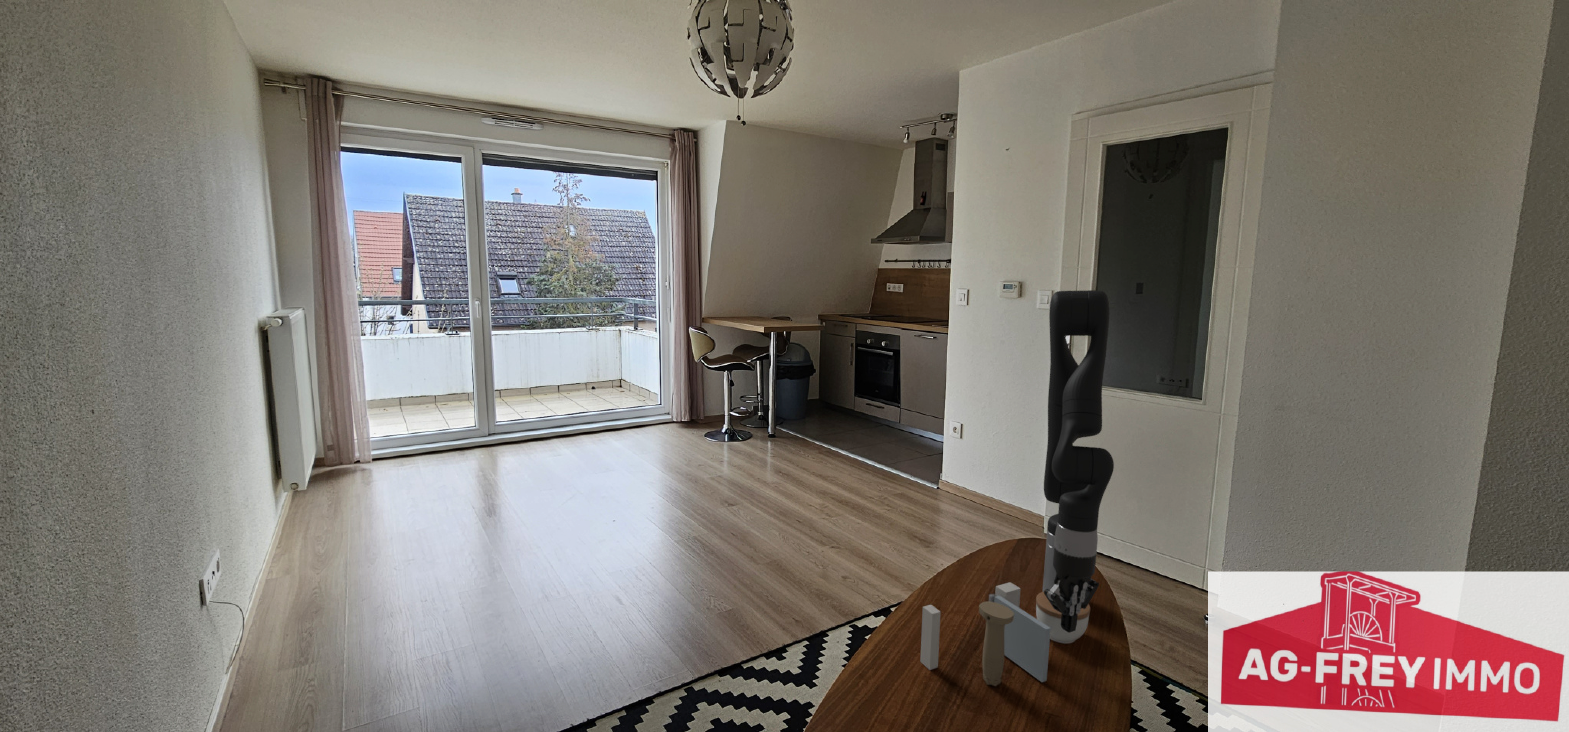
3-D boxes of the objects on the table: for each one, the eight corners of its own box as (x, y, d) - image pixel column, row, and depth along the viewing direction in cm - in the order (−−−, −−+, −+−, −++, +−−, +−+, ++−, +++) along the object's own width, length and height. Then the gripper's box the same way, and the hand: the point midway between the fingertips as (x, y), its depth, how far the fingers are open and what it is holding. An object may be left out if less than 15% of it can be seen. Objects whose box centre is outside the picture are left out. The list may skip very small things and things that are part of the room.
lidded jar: (1082, 655, 138) (1086, 613, 137) (1028, 639, 144) (1031, 598, 142) (1091, 631, 147) (1094, 591, 146) (1039, 616, 153) (1042, 578, 151)
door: (984, 641, 142) (987, 592, 141) (990, 639, 143) (993, 590, 141) (1041, 682, 129) (1045, 629, 127) (1047, 680, 130) (1051, 627, 128)
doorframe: (1006, 633, 146) (1009, 582, 144) (1016, 640, 143) (1020, 588, 141) (920, 661, 136) (922, 606, 134) (929, 669, 133) (932, 613, 131)
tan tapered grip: (998, 695, 126) (1003, 621, 123) (970, 678, 131) (974, 606, 128) (1013, 684, 129) (1018, 612, 126) (985, 668, 134) (989, 598, 131)
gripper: (1066, 561, 124) (1059, 648, 127) (1115, 548, 130) (1107, 631, 133) (1035, 545, 131) (1028, 628, 134) (1083, 533, 136) (1076, 612, 139)
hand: (1068, 629), depth 133 cm, fingers closed
